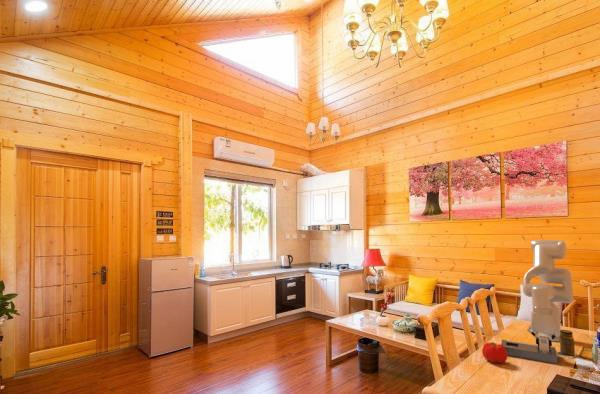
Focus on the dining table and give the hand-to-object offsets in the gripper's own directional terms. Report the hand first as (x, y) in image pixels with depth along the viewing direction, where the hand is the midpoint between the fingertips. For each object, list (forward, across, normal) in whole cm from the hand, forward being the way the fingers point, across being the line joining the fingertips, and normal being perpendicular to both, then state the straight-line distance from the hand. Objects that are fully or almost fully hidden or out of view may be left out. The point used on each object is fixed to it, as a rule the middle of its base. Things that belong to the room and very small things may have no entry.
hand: (543, 346), depth 175 cm
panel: (+5, +7, 0) cm, 9 cm away
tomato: (+5, +21, +20) cm, 30 cm away
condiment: (+6, -10, -12) cm, 16 cm away
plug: (+4, 0, 0) cm, 4 cm away
